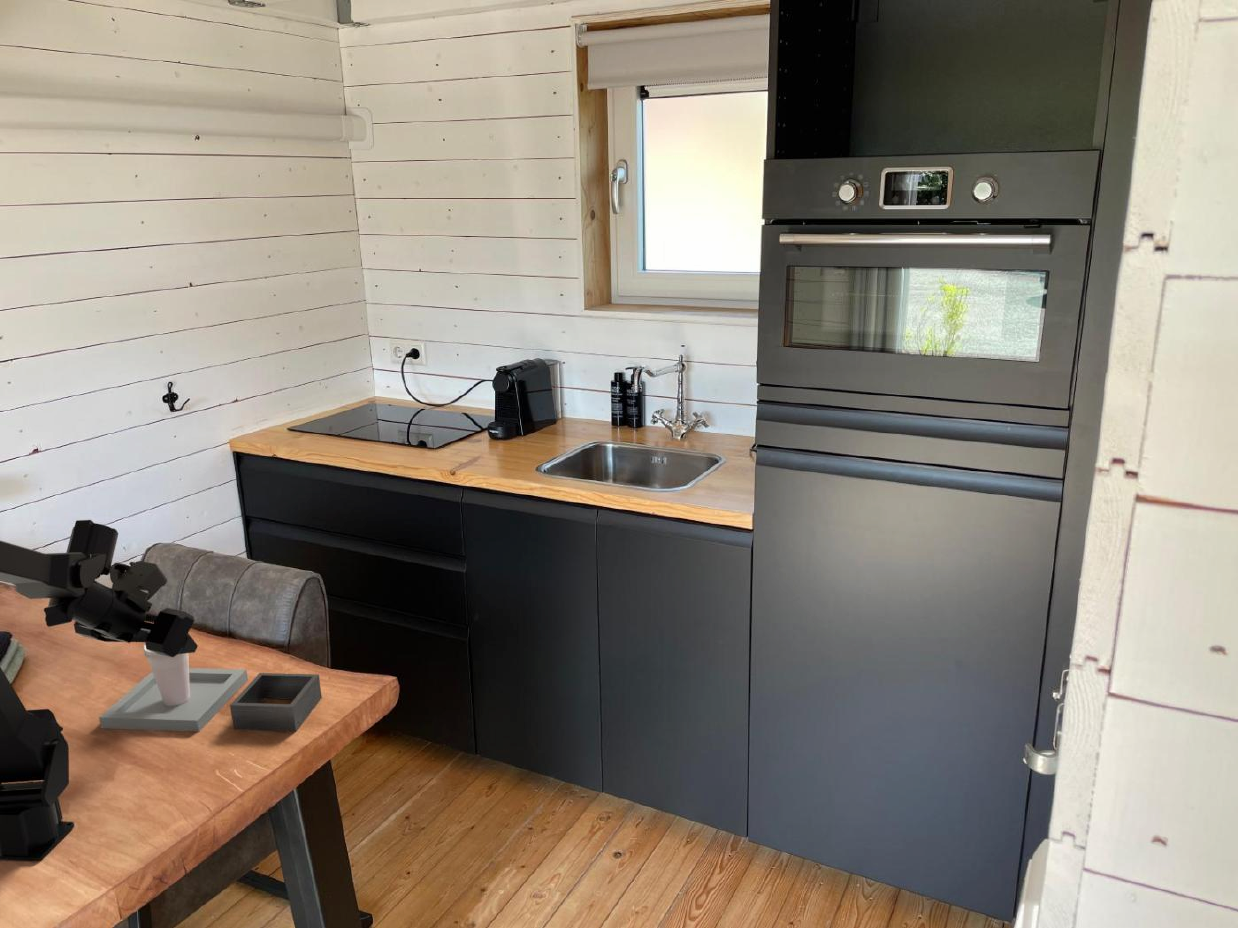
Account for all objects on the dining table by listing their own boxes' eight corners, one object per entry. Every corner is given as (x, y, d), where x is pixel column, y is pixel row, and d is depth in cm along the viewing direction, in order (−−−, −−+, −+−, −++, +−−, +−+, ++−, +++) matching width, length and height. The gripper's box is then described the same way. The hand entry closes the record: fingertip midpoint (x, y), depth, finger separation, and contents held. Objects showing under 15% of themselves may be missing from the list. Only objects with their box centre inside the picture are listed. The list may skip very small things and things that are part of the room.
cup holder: (296, 731, 134) (292, 706, 133) (233, 729, 135) (229, 705, 134) (321, 697, 143) (318, 674, 142) (263, 695, 144) (259, 672, 143)
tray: (199, 731, 134) (197, 720, 134) (101, 728, 136) (98, 717, 135) (247, 679, 149) (246, 669, 148) (158, 677, 150) (157, 667, 150)
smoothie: (182, 712, 138) (166, 628, 134) (144, 708, 140) (127, 625, 135) (208, 689, 144) (193, 608, 140) (171, 686, 146) (155, 605, 141)
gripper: (172, 561, 127) (243, 603, 140) (78, 544, 134) (153, 585, 147) (133, 637, 123) (210, 674, 135) (37, 616, 130) (118, 652, 142)
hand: (172, 643), depth 140 cm, fingers open, 9 cm apart
